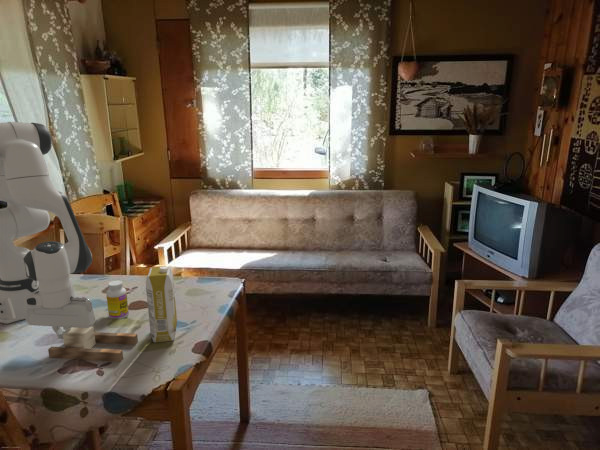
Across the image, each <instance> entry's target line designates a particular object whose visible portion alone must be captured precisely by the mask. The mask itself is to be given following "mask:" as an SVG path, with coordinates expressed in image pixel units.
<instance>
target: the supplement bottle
mask: <svg viewBox="0 0 600 450" xmlns="http://www.w3.org/2000/svg"><path fill="white" fill-rule="evenodd" d="M123 286H124V285H123V281H122V280H112V281H109V282H108V283H107V287H108V290H107V291H106V292H105V294H106V295H105V296H106V303H107V305H106V306H107V311H108V312H107V313H108V318H109V319H125V318H127V317H128V316H129V304H128V303H129V302H128V293H127V289H126V288H125V287H123Z"/></svg>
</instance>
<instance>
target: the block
mask: <svg viewBox="0 0 600 450" xmlns="http://www.w3.org/2000/svg"><path fill="white" fill-rule="evenodd" d="M94 332H95V328H94V326H90V327H89V328H74V327H72V328H71V330H69V331H68V332H67V333H66V334H64V335H63V339H62V340H63V345H64V347H69V348H87V349H93V347H94V346H95V345H96V344H97V343H96V342H95V334H94Z"/></svg>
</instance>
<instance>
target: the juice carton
mask: <svg viewBox="0 0 600 450" xmlns="http://www.w3.org/2000/svg"><path fill="white" fill-rule="evenodd" d="M174 280H175V279H174V274H173V271H172V268H171V266H165V265H163V266H160V267H159V266H158V267H151V268H149V271H148V275H147V276H146V281H145V291H146V301H147V311H148V320H149V322H148V323H149V329H150V330H149V331H150V336H151V339H152V342H153V343H163V342H164V343H165V342H172V341H174V340H175V339H176V338H175V337H176V332H177V326H178V325H177V324H178V318H177V317H178V316H177V314H178V313H177V305H176V292H175V281H174Z"/></svg>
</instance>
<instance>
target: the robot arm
mask: <svg viewBox="0 0 600 450" xmlns="http://www.w3.org/2000/svg"><path fill="white" fill-rule="evenodd" d="M52 144H53V143H52V135H51V133H50V131H49V129H48V128H47V127H46V126H45V125H44V124H41V123H38V122H22V121H21V122H20V121H19V122H18V121H7V122H0V201H1V202H5V203H6V204H7V206H6V207H2V208H0V323H2V324H11V323H14V322H17V321H21V320H22V321H23V320H25V321H26V323H27V324H28V325H29V326H41V327H51V329H52V330H53V331H54V333H55V334H56V337H57V340H64V339H63V335H64V334H66V333H67V332H68V331H69V330H71V329H72V328H73V327H74V328H89V327H93V325H94V324H95V322H96V320H97V319H96V315H95V314H96V313H95V312H94V308H93V302H92V301H91V300H90V299H88V298H87V297H85V296H82V297H79V296H75V291H74V285H73V281H72V280H71V274H80V273H84V272H86V271H87V270H88V268H89V267H90V266H91V265H92V263H93V254H92V252H91V250H90V248H89V245H88V243H87V242H86V239H85V237H84V235H83V233H82V230H81V227H80V225H79V222H78V220H77V218H76V215H75V213H74V210H73V209H72V206H71V204H70V202H69V201H70V200H68V198H67V196H66V195H65V193H63V192H61V191H58V190H57V189H56V187H55V186H54V185H53V183H52V181H51V178H50V175H49V170H48V166H47V163H46V160H45V157H44V155H46V154H48V153H50V151H51V149H52ZM50 213H51V214H53V215H55V216H56V217H57V218H58V219H59V221H60V223H61V225H62V226H61V227H62V228H63V230H64V234H65V235H66V238H67V242H66V243H62V242H59V241H54V240H49V241H43V242H40V243H38V244H37V245H36V246H34V248H33V249H29V248H27V247H23V246H17V245H15V244H14V240H15V239H18V238H23V237H27V236H33V235H35V234H38V233H41V232H43V231H45V230H47V229H48V227H49V225H50V223H51V218H50ZM62 328H63V330H62ZM64 330H65V331H64Z"/></svg>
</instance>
